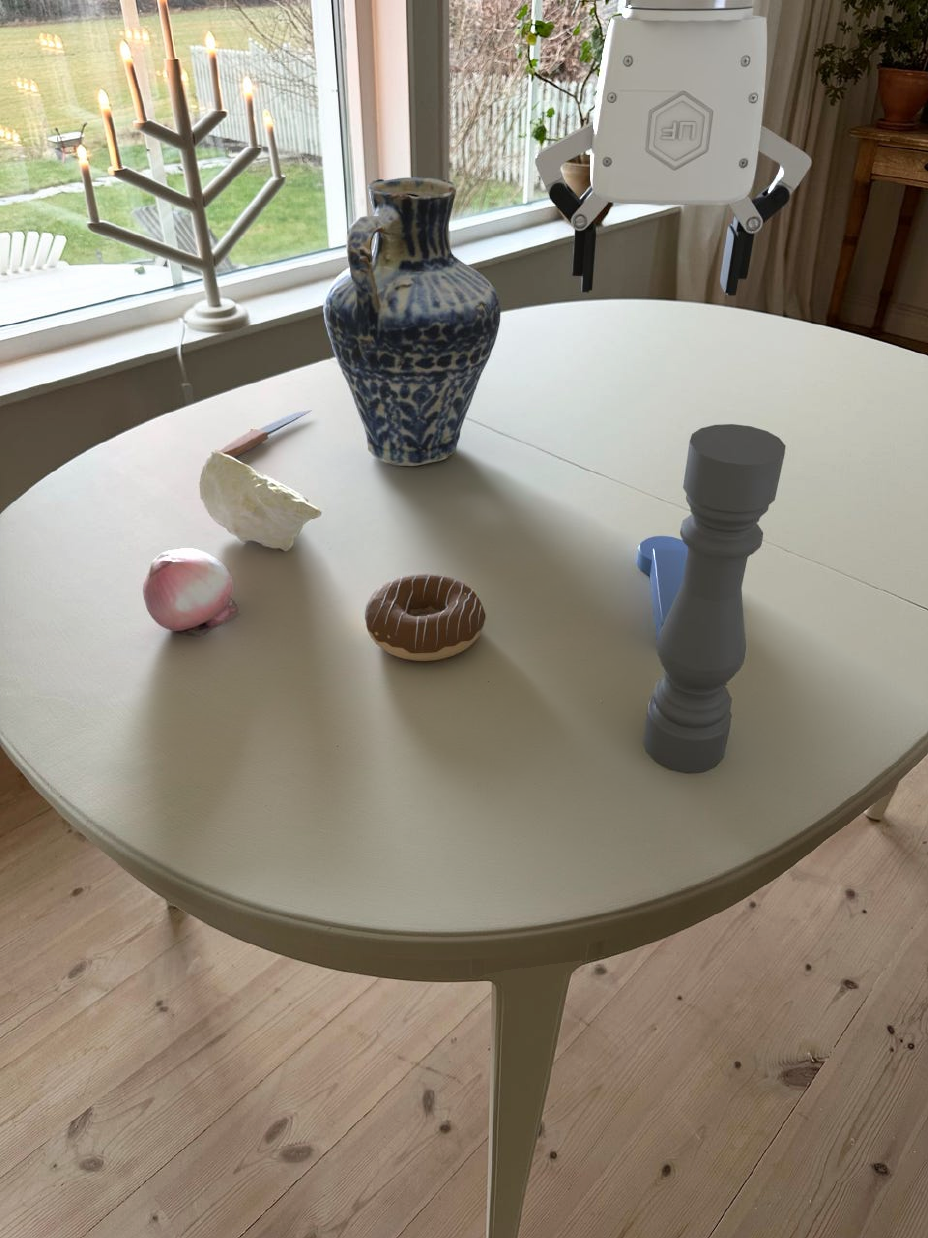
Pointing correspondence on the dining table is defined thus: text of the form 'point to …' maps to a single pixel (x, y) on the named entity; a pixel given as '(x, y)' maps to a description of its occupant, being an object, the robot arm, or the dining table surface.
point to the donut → (424, 617)
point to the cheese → (252, 503)
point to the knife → (257, 436)
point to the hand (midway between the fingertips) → (656, 288)
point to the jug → (410, 323)
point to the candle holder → (711, 594)
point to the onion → (189, 592)
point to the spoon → (663, 572)
